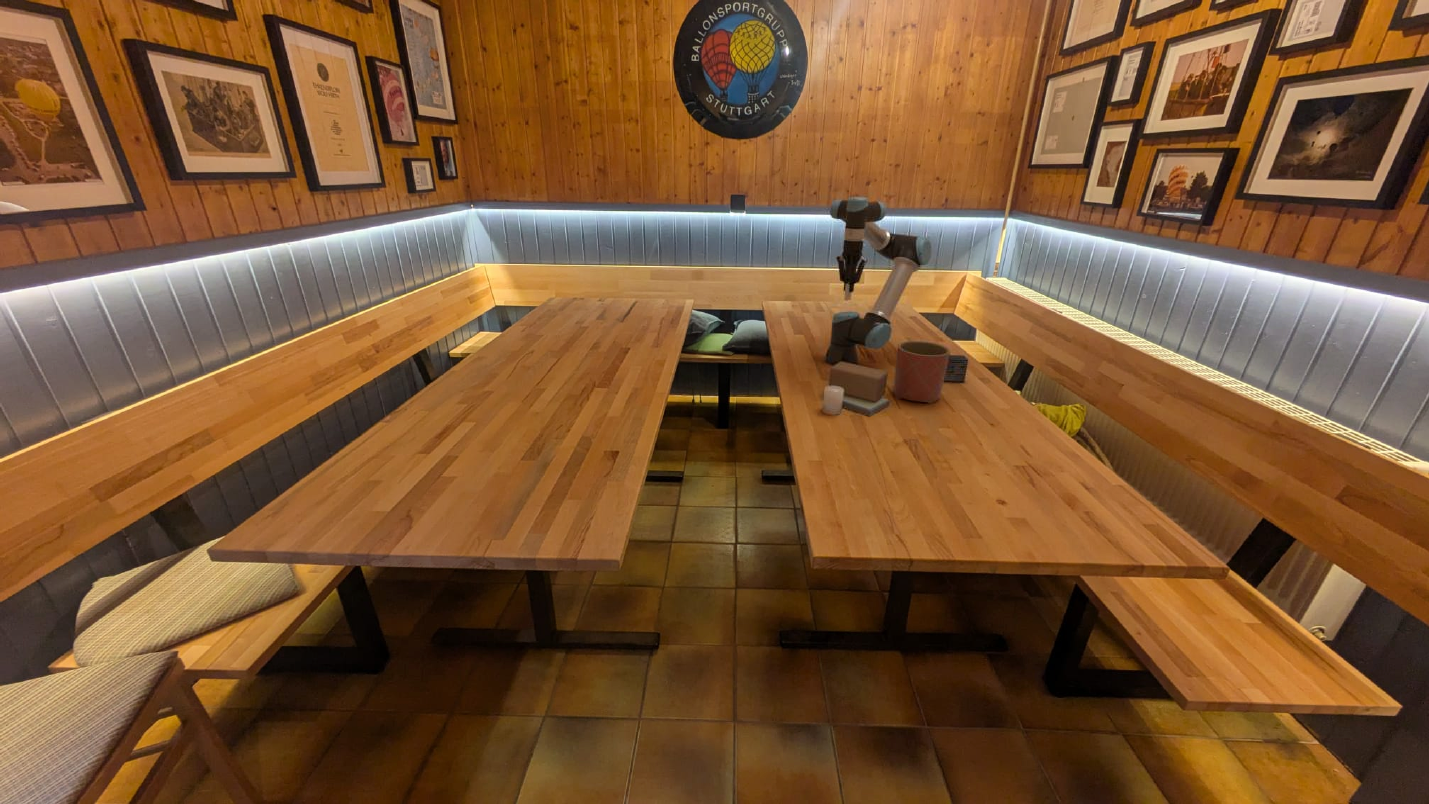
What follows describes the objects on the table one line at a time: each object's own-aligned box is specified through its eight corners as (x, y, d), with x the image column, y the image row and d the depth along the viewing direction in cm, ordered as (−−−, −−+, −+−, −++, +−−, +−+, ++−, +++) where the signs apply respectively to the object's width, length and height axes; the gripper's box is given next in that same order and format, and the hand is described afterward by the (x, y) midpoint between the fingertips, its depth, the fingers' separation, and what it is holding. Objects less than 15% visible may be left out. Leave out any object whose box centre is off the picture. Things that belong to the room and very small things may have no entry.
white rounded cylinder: (818, 411, 208) (820, 389, 204) (829, 405, 212) (831, 384, 209) (834, 416, 203) (837, 394, 200) (845, 411, 208) (847, 389, 204)
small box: (960, 377, 241) (964, 354, 237) (964, 383, 235) (969, 359, 231) (935, 376, 242) (939, 353, 238) (939, 382, 236) (943, 358, 232)
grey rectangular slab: (826, 401, 216) (827, 395, 215) (846, 392, 225) (847, 386, 224) (870, 416, 204) (870, 410, 203) (889, 405, 213) (889, 399, 212)
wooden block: (838, 383, 227) (885, 395, 216) (827, 391, 219) (875, 403, 209) (840, 360, 223) (888, 370, 212) (829, 367, 215) (879, 378, 205)
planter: (943, 391, 227) (951, 344, 219) (939, 408, 211) (948, 358, 203) (894, 383, 234) (901, 338, 226) (887, 400, 218) (894, 351, 210)
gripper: (834, 238, 218) (828, 298, 227) (863, 242, 209) (856, 303, 219) (844, 237, 222) (839, 295, 232) (873, 240, 214) (866, 300, 223)
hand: (847, 299), depth 225 cm, fingers closed
